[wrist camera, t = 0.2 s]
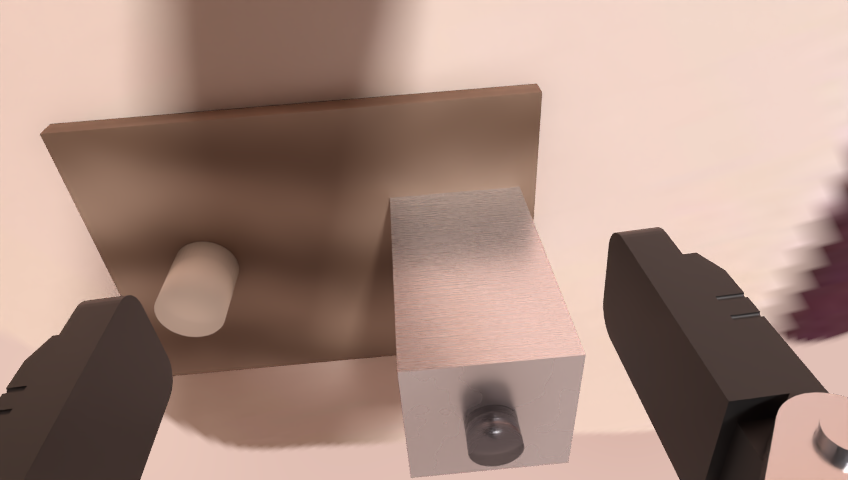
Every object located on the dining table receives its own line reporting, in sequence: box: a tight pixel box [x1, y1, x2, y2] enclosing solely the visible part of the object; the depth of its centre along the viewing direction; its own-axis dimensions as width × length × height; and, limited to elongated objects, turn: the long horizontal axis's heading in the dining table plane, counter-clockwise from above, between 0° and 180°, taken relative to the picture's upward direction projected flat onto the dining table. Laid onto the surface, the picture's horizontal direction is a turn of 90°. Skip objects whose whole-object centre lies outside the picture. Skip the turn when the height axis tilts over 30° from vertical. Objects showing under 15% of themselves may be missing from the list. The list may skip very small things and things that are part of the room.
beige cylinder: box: [154, 241, 239, 337], centre depth 29 cm, size 3×3×4 cm
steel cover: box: [390, 187, 585, 478], centre depth 25 cm, size 6×6×12 cm
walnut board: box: [40, 84, 542, 376], centre depth 30 cm, size 16×22×1 cm
